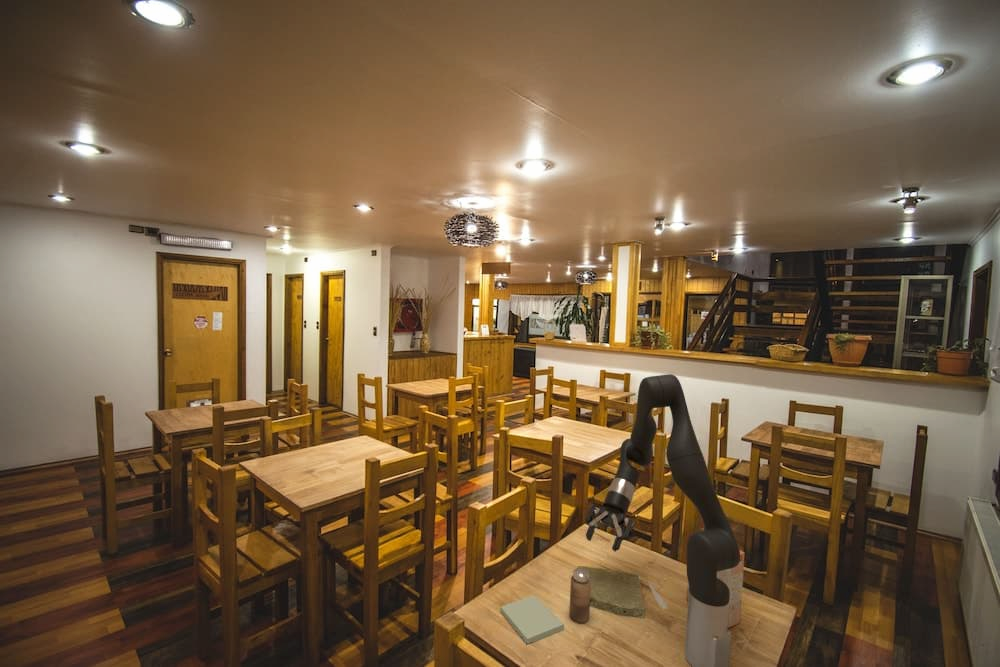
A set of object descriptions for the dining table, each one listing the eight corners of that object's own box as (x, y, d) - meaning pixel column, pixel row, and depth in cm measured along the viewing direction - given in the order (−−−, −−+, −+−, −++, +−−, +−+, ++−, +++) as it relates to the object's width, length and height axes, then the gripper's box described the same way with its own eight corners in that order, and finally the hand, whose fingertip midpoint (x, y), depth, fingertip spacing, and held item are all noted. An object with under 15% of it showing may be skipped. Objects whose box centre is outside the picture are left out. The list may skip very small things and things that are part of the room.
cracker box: (741, 623, 127) (746, 552, 126) (727, 629, 124) (732, 557, 123) (699, 594, 139) (703, 529, 138) (685, 599, 136) (689, 533, 135)
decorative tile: (576, 572, 149) (577, 562, 149) (639, 582, 145) (639, 572, 145) (574, 609, 131) (574, 597, 131) (645, 621, 127) (646, 609, 127)
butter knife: (659, 608, 132) (669, 608, 132) (628, 558, 158) (636, 558, 159) (659, 610, 132) (669, 610, 132) (628, 560, 158) (636, 559, 159)
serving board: (563, 629, 122) (564, 624, 122) (527, 644, 116) (527, 639, 116) (534, 599, 134) (535, 594, 134) (500, 611, 128) (500, 606, 128)
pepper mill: (593, 620, 126) (595, 575, 125) (577, 626, 123) (580, 580, 122) (580, 608, 131) (582, 565, 130) (565, 614, 128) (567, 570, 127)
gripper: (595, 484, 145) (576, 531, 137) (638, 497, 136) (619, 548, 128) (602, 495, 150) (583, 541, 141) (643, 508, 140) (626, 559, 132)
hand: (600, 544), depth 135 cm, fingers open, 8 cm apart
